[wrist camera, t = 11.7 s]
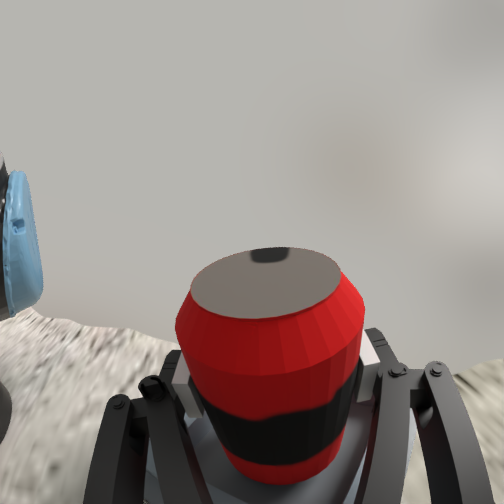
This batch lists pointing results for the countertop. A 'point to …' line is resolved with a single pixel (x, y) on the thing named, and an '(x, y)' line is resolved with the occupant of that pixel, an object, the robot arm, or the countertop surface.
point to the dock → (279, 496)
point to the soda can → (274, 358)
